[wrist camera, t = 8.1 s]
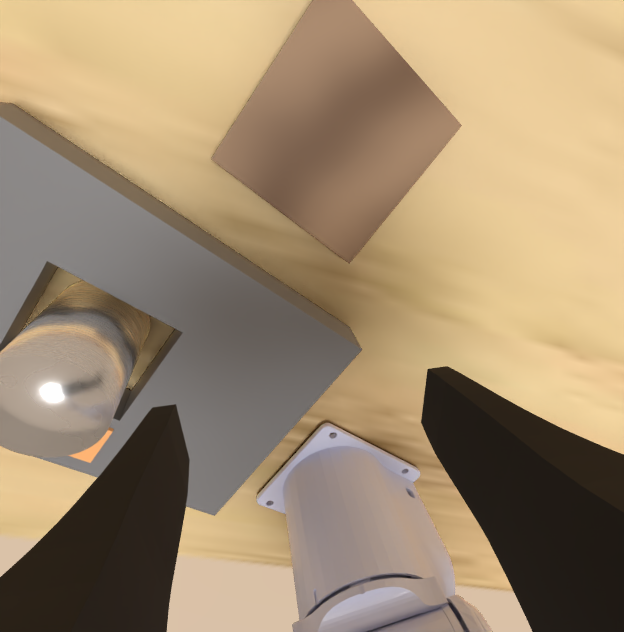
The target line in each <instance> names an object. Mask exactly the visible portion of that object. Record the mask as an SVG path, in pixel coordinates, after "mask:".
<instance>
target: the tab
mask: <svg viewBox="0 0 624 632" xmlns="http://www.w3.org/2000/svg"><path fill="white" fill-rule="evenodd" d="M461 126H462V125H461V124H460V123H459V122H458V121H457V119H456V118H455V117H454V116H453V115H452V114H451V113H450V111H449V110H448V109H447V108H446V107H445V106H444V105H443V103H442V102H441V101H440V100H439V99H438V98H437V97H436V95H435V94H434V93H433V92H432V91H431V90H430V89H429V87H428V86H427V85H426V84H425V83H424V82H423V81H422V79H421V78H420V77H419V76H418V75H417V74H416V73H415V71H414V70H413V69H412V68H411V67H410V66H409V65H408V63H407V62H406V61H405V60H404V59H403V58H402V57H401V55H400V54H399V53H398V52H397V51H396V50H395V49H394V47H393V46H392V45H391V44H390V43H389V42H388V41H387V39H386V38H385V37H384V36H383V35H382V34H381V33H380V31H379V30H378V29H377V28H376V27H375V26H374V25H373V23H372V22H371V21H370V20H369V19H368V18H367V17H366V15H365V14H364V13H363V12H362V11H361V10H360V9H359V7H358V6H357V5H356V4H355V3H354V2H353V1H352V0H313V1H312V2H311V4H310V5H309V7H308V9H307V10H306V12H305V13H304V15H303V16H302V18H301V19H300V21H299V23H298V24H297V26H296V27H295V29H294V30H293V32H292V33H291V35H290V37H289V38H288V40H287V41H286V43H285V44H284V46H283V47H282V49H281V51H280V52H279V54H278V55H277V57H276V58H275V60H274V61H273V63H272V64H271V66H270V68H269V69H268V71H267V72H266V74H265V75H264V77H263V78H262V80H261V82H260V83H259V85H258V86H257V88H256V89H255V91H254V92H253V94H252V96H251V97H250V99H249V100H248V102H247V103H246V105H245V106H244V108H243V110H242V111H241V113H240V114H239V116H238V117H237V119H236V120H235V122H234V124H233V125H232V127H231V128H230V130H229V131H228V133H227V134H226V136H225V138H224V139H223V141H222V142H221V144H220V145H219V147H218V148H217V150H216V152H215V153H214V155H213V156H212V158H211V159H212V160H213V161H214V162H215V163H217V164H218V165H219V166H221V167H222V168H223V169H225V170H226V171H227V172H229V173H230V174H231V175H233V176H234V177H235V178H237V179H238V180H239V181H241V182H242V183H243V184H245V185H246V186H247V187H249V188H250V189H251V190H253V191H254V192H255V193H256V194H258V195H259V196H260V197H262V198H263V199H264V200H266V201H267V202H268V203H270V204H271V205H272V206H274V207H275V208H276V209H278V210H279V211H280V212H282V213H283V214H284V215H286V216H287V217H288V218H290V219H291V220H292V221H294V222H295V223H296V224H297V225H299V226H300V227H301V228H303V229H304V230H305V231H307V232H308V233H309V234H311V235H312V236H313V237H315V238H316V239H317V240H319V241H320V242H321V243H323V244H324V245H325V246H327V247H328V248H329V249H331V250H332V251H333V252H335V253H336V254H337V255H338V256H340V257H341V258H342V259H344V260H345V261H346V262H348V263H350V262H351V261H352V260H353V259H354V257H355V256H356V255H357V254H358V252H359V251H360V250H361V249H362V248H363V246H364V245H365V244H366V243H367V241H368V240H369V239H370V238H371V236H372V235H373V234H374V233H375V232H376V230H377V229H378V228H379V227H380V225H381V224H382V223H383V222H384V221H385V219H386V218H387V217H388V216H389V214H390V213H391V212H392V211H393V209H394V208H395V207H396V206H397V205H398V203H399V202H400V201H401V200H402V198H403V197H404V196H405V195H406V193H407V192H408V191H409V190H410V189H411V187H412V186H413V185H414V184H415V182H416V181H417V180H418V179H419V178H420V176H421V175H422V174H423V173H424V171H425V170H426V169H427V168H428V166H429V165H430V164H431V163H432V162H433V160H434V159H435V158H436V157H437V155H438V154H439V153H440V152H441V151H442V149H443V148H444V147H445V146H446V144H447V143H448V142H449V141H450V139H451V138H452V137H453V136H454V135H455V133H456V132H457V131H458V130H459V128H460V127H461Z"/></svg>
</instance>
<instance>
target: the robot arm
mask: <svg viewBox="0 0 624 632" xmlns="http://www.w3.org/2000/svg"><path fill="white" fill-rule="evenodd" d="M421 423H422V425H423V428H424V430H425V432H426V435H427V437H428V439H429V441H430V443H431V445H432V448H433V450H434V452H435V454H436V455H437V457H438V459H439V460H440V462H441V464H442V465H443V467H444V468H445V470H446V472H447V473H448V475H449V477H450V478H451V480H452V481H453V483H454V485H455V486H456V488H457V489H458V491H459V493H460V494H461V496H462V497H463V499H464V501H465V502H466V504H467V505H468V507H469V508H470V510H471V512H472V513H473V515H474V516H475V518H476V520H477V521H478V523H479V525H480V526H481V528H482V530H483V532H484V533H485V535H486V537H487V538H488V540H489V542H490V544H491V546H492V548H493V550H494V552H495V554H496V556H497V558H498V560H499V562H500V564H501V566H502V568H503V570H504V572H505V574H506V576H507V578H508V580H509V582H510V584H511V586H512V589H513V591H514V593H515V595H516V597H517V599H518V601H519V603H520V605H521V608H522V610H523V612H524V614H525V616H526V618H527V620H528V622H529V625H530V627H531V629H532V631H533V632H624V455H623V454H621V453H618V452H615V451H613V450H610V449H608V448H605V447H603V446H601V445H598V444H596V443H594V442H591V441H589V440H587V439H584V438H582V437H580V436H578V435H575V434H573V433H571V432H569V431H566V430H564V429H562V428H560V427H558V426H556V425H554V424H552V423H550V422H548V421H546V420H544V419H542V418H540V417H538V416H536V415H534V414H532V413H530V412H528V411H526V410H525V409H523V408H521V407H519V406H517V405H515V404H513V403H512V402H510V401H508V400H506V399H505V398H503V397H501V396H499V395H497V394H496V393H494V392H492V391H490V390H489V389H487V388H485V387H483V386H482V385H480V384H478V383H477V382H475V381H473V380H471V379H470V378H468V377H466V376H464V375H463V374H461V373H459V372H457V371H455V370H453V369H451V368H449V367H447V366H446V367H439V368H432V369H428V371H427V379H426V387H425V396H424V404H423V412H422V420H421ZM333 432H334V434H331V433H333ZM189 462H190V459H189V455H188V451H187V447H186V443H185V439H184V435H183V431H182V427H181V423H180V419H179V415H178V411H177V406H176V404H174V405H166V406H159V407H152V408H151V410H150V411H149V412H148V413H147V415H146V416H145V417H144V419H143V420H142V421H141V423H140V424H139V425H138V427H137V428H136V429H135V431H134V432H133V433H132V435H131V436H130V437H129V439H128V440H127V441H126V443H125V444H124V445H123V447H122V448H121V449H120V450H119V452H118V453H117V454H116V456H115V457H114V458H113V459H112V461H111V462H110V463H109V464H108V466H107V467H106V468H105V469H104V471H103V472H102V473H101V474H100V475H99V477H98V478H97V479H96V480H95V481H94V483H93V484H92V485H91V486H90V487H89V488H88V489H87V491H86V492H85V493H84V494H83V495H82V496H81V497H80V499H79V500H78V501H77V502H76V503H75V504H74V506H73V507H72V508H71V509H70V510H69V511H68V512H67V513H66V514H65V515H64V516H63V517H62V519H61V520H60V521H59V522H58V523H57V524H56V525H55V526H54V527H53V528H52V529H51V530H50V531H49V532H48V533H47V534H46V535H45V536H44V537H43V538H42V539H41V540H40V541H39V542H38V543H37V544H36V545H35V546H34V547H33V548H32V549H31V550H30V551H29V552H28V553H27V554H26V555H24V556H23V557H22V558H21V559H20V560H19V561H18V562H17V563H16V564H14V565H13V566H12V568H10V569H9V570H8V571H7V572H6V573H5V574H3V575H2V576H1V577H0V632H166V631H167V620H168V609H169V601H170V594H171V587H172V580H173V575H174V570H175V564H176V559H177V553H178V548H179V542H180V537H181V531H182V525H183V520H184V514H185V508H186V502H187V496H188V482H189ZM419 476H420V471H419V469H418V468H417V467H415V466H413V465H411V464H409V463H407V462H405V461H403V460H401V459H399V458H397V457H395V456H393V455H391V454H389V453H387V452H385V451H383V450H381V449H379V448H378V447H376V446H374V445H372V444H370V443H368V442H366V441H364V440H362V439H360V438H358V437H356V436H354V435H352V434H350V433H348V432H346V431H344V430H342V429H340V428H338V427H336V426H334V425H332V424H330V423H324V424H322V425H321V426H320V427H319V428H318V429H317V430H316V431H315V432H314V433H313V434H312V436H311V437H310V438H309V439H308V440H307V441H306V442H305V443H304V444H303V445H302V447H301V448H300V449H299V450H298V451H297V452H296V453H295V454H294V455H293V456H292V457H291V459H290V460H289V461H288V462H287V463H286V464H285V465H284V466H283V467H282V468H281V470H280V471H279V472H278V473H277V474H276V475H275V476H274V477H273V478H272V479H271V480H270V482H269V483H268V484H267V485H266V486H265V487H264V488H263V489H262V490H261V491H260V493H259V494H258V495H257V503H258V504H259V505H262V506H264V507H267V508H270V509H273V510H275V511H278V512H281V513H284V514H286V521H287V529H288V536H289V544H290V551H291V559H292V566H293V574H294V582H295V589H296V596H297V604H298V612H299V619H300V621H297V622H295V623H293V625H292V626H293V632H493V631H492V630H491V628H490V626H489V625H488V623H487V621H486V620H485V619H484V617H483V616H482V614H481V613H480V612H479V610H478V609H477V608H476V607H474V606H473V605H471V604H470V603H468V602H467V601H465V600H464V599H463V598H462V597H461V596H459V595H455V576H454V570H453V565H452V562H451V559H450V556H449V554H448V552H447V550H446V548H445V546H444V544H443V542H442V540H441V538H440V536H439V534H438V532H437V530H436V528H435V526H434V524H433V522H432V520H431V518H430V516H429V514H428V512H427V510H426V508H425V506H424V504H423V502H422V500H421V498H420V496H419V494H418V492H417V490H416V488H415V486H414V484H413V482H414V481H416V480H417V479H418V478H419ZM270 500H271V501H270Z"/></svg>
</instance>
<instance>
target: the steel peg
mask: <svg viewBox="0 0 624 632" xmlns="http://www.w3.org/2000/svg"><path fill="white" fill-rule="evenodd" d="M149 330H150V316H149V315H148V314H146V313H145V312H143V311H141V310H139V309H137V308H135V307H133V306H131V305H129V304H128V303H126V302H124V301H122V300H120V299H118V298H116V297H114V296H112V295H111V294H109V293H107V292H105V291H103V290H101V289H99V288H97V287H95V286H93V285H92V284H90V283H88V282H86V281H84V280H83V281H79V282H77V283H75V284H73V285H71V286H69V287H68V288H67V289H66V290H64V291H63V292H62V293H61V294H60V295H59V296H58V297H57V298H56V299H55V300H54V301H53V302H52V303H51V304H50V305H49V306H48V307H47V308H46V309H45V310H44V311H42V312H41V313H40V314H39V315H38V316H37V317H36V318H35V319H34V320H33V321H32V322H31V323H30V324H29V325H28V326H27V327H26V328H25V329H24V330H23V331H22V332H21V333H20V334H19V335H17V336H16V337H15V338H14V339H13V340H12V341H11V342H10V343H9V344H8V345H7V346H6V347H5V348H4V349H3V350H2V351H1V352H0V446H2V447H4V448H6V449H9V450H11V451H14V452H17V453H20V454H24V455H29V456H35V457H63V456H68V455H72V454H76V453H79V452H81V451H84V450H86V449H88V448H90V447H91V446H93V445H94V444H96V443H97V442H98V441H99V440H100V439H101V438H102V437H103V436H104V435H105V434H106V432H107V430H108V428H109V426H110V424H111V422H112V419H113V417H114V415H115V412H116V410H117V407H118V405H119V403H120V400H121V398H122V395H123V393H124V391H125V388H126V386H127V383H128V381H129V379H130V376H131V374H132V371H133V369H134V367H135V364H136V362H137V360H138V357H139V355H140V352H141V350H142V348H143V345H144V343H145V340H146V338H147V336H148V333H149Z"/></svg>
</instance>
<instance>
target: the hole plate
mask: <svg viewBox="0 0 624 632" xmlns="http://www.w3.org/2000/svg"><path fill="white" fill-rule="evenodd" d="M57 267H59V268H61V269H63V270H65V271H67V272H69V273H71V274H73V275H75V276H76V277H78V278H80V279H82V280H84V281H86V282H88V283H90V284H92V285H93V286H95V287H97V288H99V289H101V290H103V291H105V292H107V293H109V294H111V295H112V296H114V297H116V298H118V299H120V300H122V301H124V302H126V303H128V304H129V305H131V306H133V307H135V308H137V309H139V310H141V311H143V312H145V313H146V314H148V315H150V316H152V317H154V318H156V319H158V320H160V321H162V322H163V323H165V324H167V325H169V326H171V327H173V328H175V330H174V331H173V333H172V334H171V335H170V337H169V338H168V340H167V341H166V343H165V344H164V345H163V347H162V348H161V350H160V351H159V352H158V354H157V355H156V357H155V358H154V360H153V361H152V362H151V364H150V365H149V367H148V368H147V369H146V371H145V372H144V374H143V375H142V376H141V378H140V379H139V381H138V382H137V384H136V385H135V386H134V388H133V389H132V391H131V390H129V389H127V388H125V391H124V393H123V395H122V398H121V400H120V403H119V405H118V407H117V410H116V412H115V415H114V417H113V419H112V422H111V424H110V426H109V428H108V430H107V432H106V434H105V435H104V436H103V437H102V438H101V439H100V440H99V441H98V442H97V443H96V444H94V445H93V446H91V447H90V448H88V449H86V450H84V451H81V452H79V453H76V454H72V455H68V456H63V457H37V458H40V459H43V460H46V461H49V462H52V463H55V464H58V465H61V466H64V467H67V468H70V469H73V470H77V471H80V472H83V473H86V474H89V475H92V476H95V477H99V475H100V474H101V473H102V472H103V471H104V469H105V468H106V467H107V466H108V464H109V463H110V462H111V461H112V459H113V458H114V457H115V456H116V454H117V453H118V452H119V450H120V449H121V448H122V447H123V445H124V444H125V443H126V441H127V440H128V439H129V437H130V436H131V435H132V433H133V432H134V431H135V429H136V428H137V427H138V425H139V424H140V423H141V421H142V420H143V419H144V417H145V416H146V415H147V413H148V412H149V411H150V410H151V408H152V407H159V406H166V405H174V404H176V406H177V411H178V415H179V419H180V423H181V427H182V431H183V435H184V439H185V443H186V447H187V451H188V455H189V459H190V462H189V482H188V496H187V502H186V507H190V508H193V509H196V510H199V511H202V512H205V513H208V514H211V515H214V516H215V515H216V514H217V512H218V511H219V510H220V509H221V508H222V507H223V506H224V505H225V503H226V502H227V501H228V500H229V499H230V498H231V497H232V496H233V494H234V493H235V492H236V491H237V490H238V489H239V488H240V487H241V485H242V484H243V483H244V482H245V481H246V480H247V479H248V478H249V476H250V475H251V474H252V473H253V472H254V471H255V470H256V469H257V467H258V466H259V465H260V464H261V463H262V462H263V461H264V460H265V458H266V457H267V456H268V455H269V454H270V453H271V452H272V451H273V449H274V448H275V447H276V446H277V445H278V444H279V443H280V442H281V440H282V439H283V438H284V437H285V436H286V435H287V434H288V433H289V431H290V430H291V429H292V428H293V427H294V426H295V425H296V424H297V422H298V421H299V420H300V419H301V418H302V417H303V416H304V414H305V413H306V412H307V411H308V410H309V409H310V408H311V407H312V405H313V404H314V403H315V402H316V401H317V400H318V399H319V398H320V396H321V395H322V394H323V393H324V392H325V391H326V390H327V389H328V387H329V386H330V385H331V384H332V383H333V382H334V381H335V380H336V378H337V377H338V376H339V375H340V374H341V373H342V372H343V371H344V369H345V368H346V367H347V366H348V365H349V364H350V363H351V362H352V360H353V359H354V358H355V357H356V356H357V355H358V354H359V353H360V351H361V350H362V348H361V347H360V345H359V343H358V341H357V340H356V338H355V336H354V334H353V333H352V331H351V329H350V327H348V326H347V325H345V324H344V323H342V322H341V321H339V320H338V319H336V318H335V317H333V316H332V315H330V314H329V313H327V312H326V311H324V310H323V309H321V308H320V307H318V306H317V305H315V304H314V303H312V302H311V301H309V300H308V299H306V298H305V297H303V296H302V295H300V294H299V293H297V292H296V291H294V290H293V289H291V288H290V287H288V286H287V285H285V284H284V283H282V282H281V281H279V280H278V279H276V278H275V277H273V276H272V275H270V274H268V273H267V272H265V271H264V270H262V269H261V268H259V267H258V266H256V265H255V264H253V263H252V262H250V261H249V260H247V259H246V258H244V257H243V256H241V255H240V254H238V253H237V252H235V251H234V250H232V249H231V248H229V247H228V246H226V245H225V244H223V243H222V242H220V241H219V240H217V239H216V238H214V237H213V236H211V235H210V234H208V233H207V232H205V231H204V230H202V229H201V228H199V227H198V226H196V225H195V224H193V223H192V222H190V221H189V220H187V219H186V218H184V217H183V216H181V215H180V214H178V213H177V212H175V211H174V210H172V209H171V208H169V207H168V206H166V205H165V204H163V203H162V202H160V201H159V200H157V199H156V198H154V197H153V196H151V195H150V194H148V193H147V192H145V191H144V190H142V189H141V188H139V187H137V186H136V185H134V184H133V183H131V182H130V181H128V180H127V179H125V178H124V177H122V176H121V175H119V174H118V173H116V172H115V171H113V170H112V169H110V168H109V167H107V166H106V165H104V164H103V163H101V162H100V161H98V160H97V159H95V158H94V157H92V156H91V155H89V154H88V153H86V152H85V151H83V150H82V149H80V148H79V147H77V146H76V145H74V144H73V143H71V142H70V141H68V140H67V139H65V138H64V137H62V136H61V135H59V134H58V133H56V132H55V131H53V130H52V129H50V128H49V127H47V126H46V125H44V124H43V123H41V122H40V121H38V120H37V119H35V118H34V117H32V116H31V115H29V114H28V113H26V112H25V111H23V110H22V109H20V108H19V107H17V106H16V105H14V104H12V103H2V102H0V352H1V351H2V350H3V349H4V348H5V347H6V346H7V345H8V344H9V343H10V342H11V341H12V340H13V339H14V338H15V337H16V336H17V335H19V333H20V332H21V330H22V328H23V326H24V325H25V323H26V321H27V320H28V318H29V316H30V314H31V313H32V311H33V309H34V307H35V306H36V304H37V302H38V300H39V299H40V297H41V295H42V293H43V292H44V290H45V288H46V286H47V285H48V283H49V281H50V279H51V278H52V276H53V274H54V272H55V271H56V269H57ZM34 457H35V456H34Z"/></svg>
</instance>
